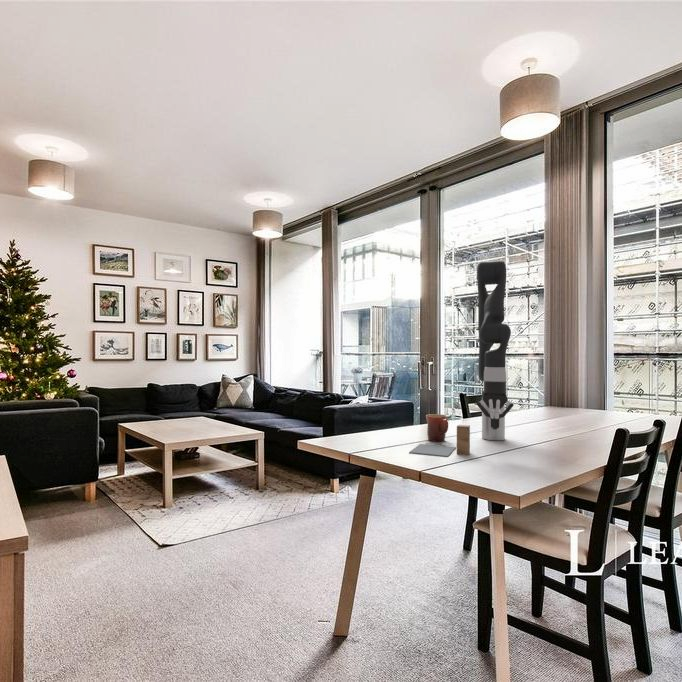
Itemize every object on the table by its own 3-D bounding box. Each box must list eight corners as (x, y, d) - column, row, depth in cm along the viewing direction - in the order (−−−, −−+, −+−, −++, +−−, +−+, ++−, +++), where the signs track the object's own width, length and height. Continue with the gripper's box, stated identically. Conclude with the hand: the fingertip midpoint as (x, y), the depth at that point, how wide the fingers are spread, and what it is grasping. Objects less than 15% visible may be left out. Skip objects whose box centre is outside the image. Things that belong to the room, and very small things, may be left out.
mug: (421, 439, 195) (421, 414, 195) (439, 437, 199) (439, 413, 199) (437, 444, 184) (437, 418, 184) (456, 443, 187) (456, 417, 188)
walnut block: (458, 451, 171) (458, 424, 172) (469, 452, 170) (469, 425, 170) (456, 454, 168) (456, 426, 168) (468, 455, 166) (468, 426, 166)
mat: (419, 444, 183) (419, 443, 183) (456, 448, 178) (456, 447, 178) (409, 453, 169) (409, 452, 169) (447, 456, 163) (447, 455, 163)
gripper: (515, 380, 166) (515, 429, 165) (477, 379, 171) (477, 426, 170) (514, 381, 159) (514, 432, 158) (474, 380, 164) (474, 429, 163)
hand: (495, 429), depth 164 cm, fingers closed
